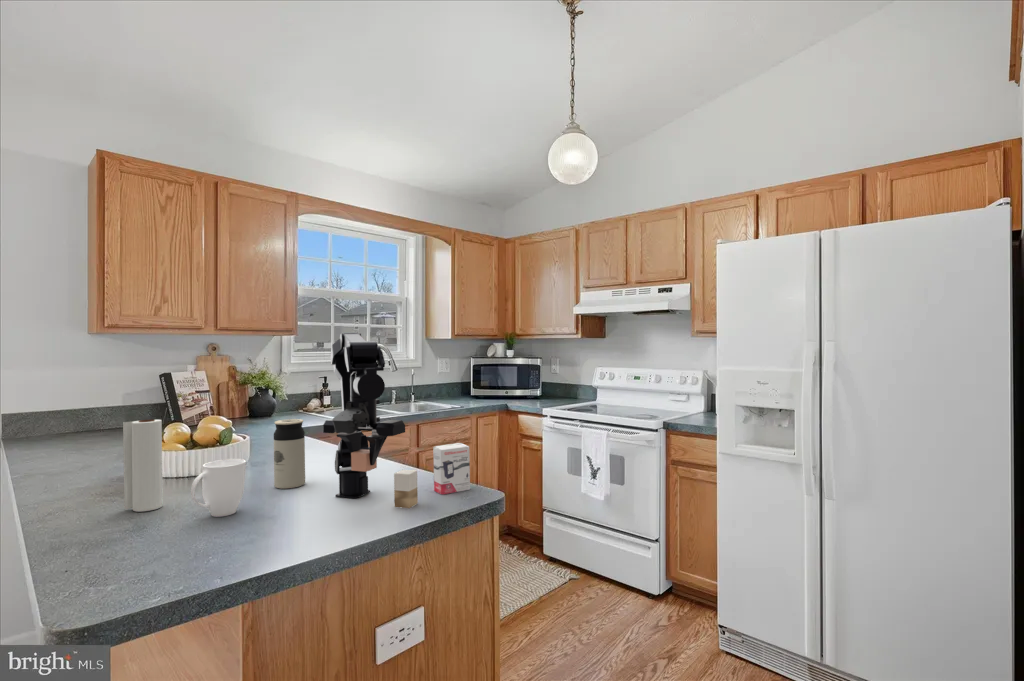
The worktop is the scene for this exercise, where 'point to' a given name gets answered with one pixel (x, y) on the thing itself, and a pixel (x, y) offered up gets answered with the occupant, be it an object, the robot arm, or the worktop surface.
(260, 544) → the worktop surface
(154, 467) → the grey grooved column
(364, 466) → the terracotta block
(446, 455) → the ink box
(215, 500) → the mug
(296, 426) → the travel mug
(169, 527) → the worktop surface
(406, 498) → the oak block
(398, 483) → the cream block
